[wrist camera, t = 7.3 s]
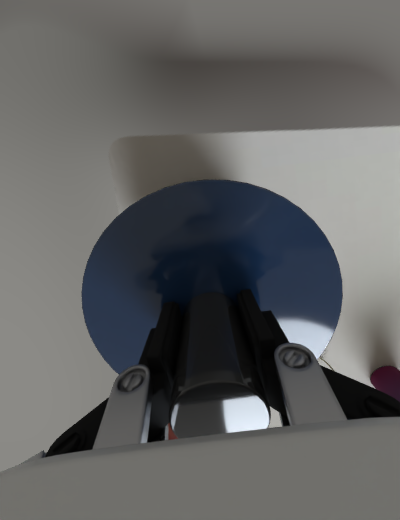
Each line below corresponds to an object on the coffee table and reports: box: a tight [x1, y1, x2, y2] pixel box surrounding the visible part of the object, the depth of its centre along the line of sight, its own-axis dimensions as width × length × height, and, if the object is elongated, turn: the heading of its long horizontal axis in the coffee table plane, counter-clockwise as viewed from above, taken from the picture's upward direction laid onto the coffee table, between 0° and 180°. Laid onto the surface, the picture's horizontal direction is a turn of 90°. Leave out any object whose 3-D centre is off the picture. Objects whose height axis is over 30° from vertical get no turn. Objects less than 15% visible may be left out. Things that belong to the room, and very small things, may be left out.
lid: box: [82, 180, 343, 439], centre depth 10 cm, size 14×14×7 cm
